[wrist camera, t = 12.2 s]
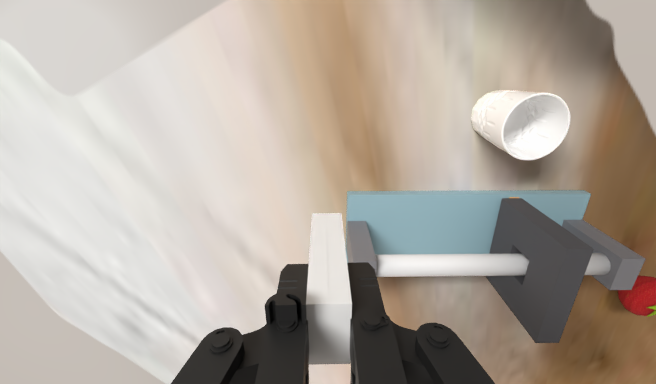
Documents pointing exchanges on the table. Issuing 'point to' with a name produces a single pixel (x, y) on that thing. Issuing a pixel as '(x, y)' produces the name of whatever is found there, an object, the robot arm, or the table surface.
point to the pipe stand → (468, 234)
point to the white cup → (522, 122)
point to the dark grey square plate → (539, 268)
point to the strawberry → (640, 296)
